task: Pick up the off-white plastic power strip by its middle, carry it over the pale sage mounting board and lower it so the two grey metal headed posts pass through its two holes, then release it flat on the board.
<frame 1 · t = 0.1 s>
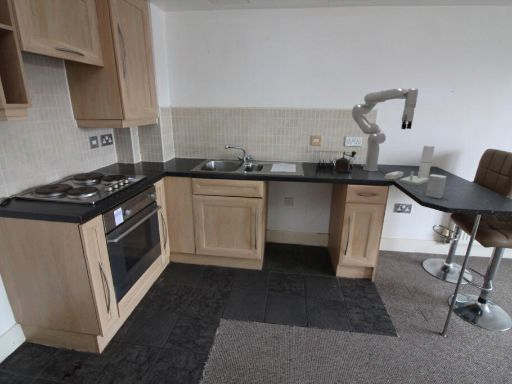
hand: (406, 128, 218), 37 cm above the worktop, tool pointing down, fingers open, 9 cm apart
small box: (433, 196, 174), on the worktop
power strip: (394, 177, 220), on the worktop
tall grey block: (422, 177, 222), on the worktop
mount board: (414, 181, 209), on the worktop
dark piece: (344, 171, 238), on the worktop
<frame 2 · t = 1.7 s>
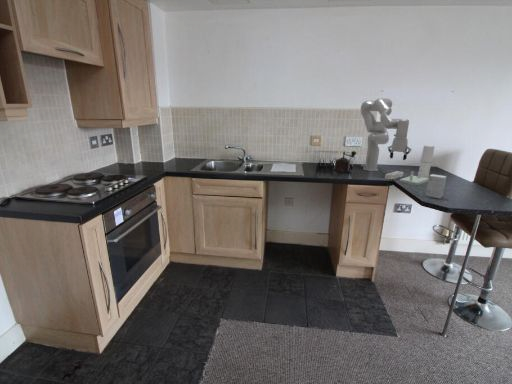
hand: (397, 159, 215), 15 cm above the worktop, tool pointing down, fingers open, 9 cm apart
nothing on the worktop moved.
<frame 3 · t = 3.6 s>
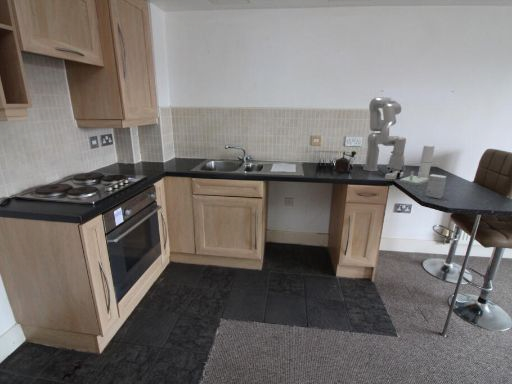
hand: (394, 176, 220), 1 cm above the worktop, tool pointing down, fingers closed on power strip, 5 cm apart
power strip: (394, 177, 220), on the worktop, touching gripper
everything else where it was.
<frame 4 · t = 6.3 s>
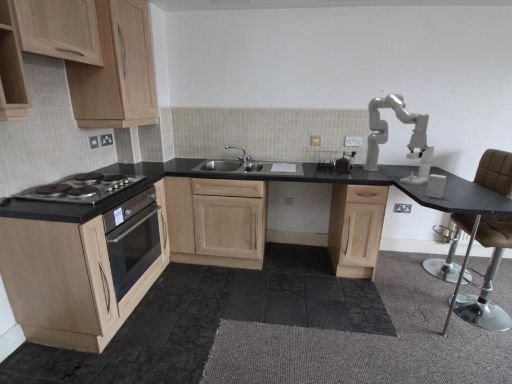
hand: (415, 156, 205), 18 cm above the worktop, tool pointing down, fingers closed on power strip, 5 cm apart
power strip: (415, 157, 205), point 17 cm above the worktop, touching gripper
everything else where it was.
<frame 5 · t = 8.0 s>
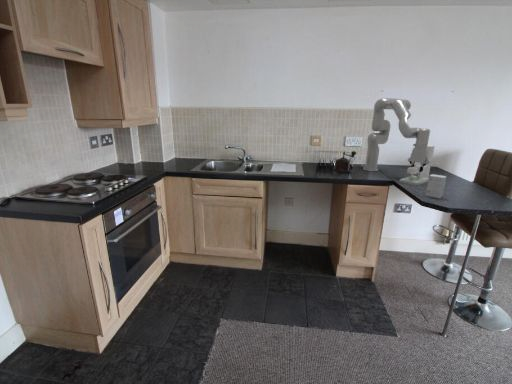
hand: (416, 170, 207), 8 cm above the worktop, tool pointing down, fingers closed on power strip, 5 cm apart
power strip: (416, 171, 207), point 7 cm above the worktop, touching gripper
everything else where it was.
when the fingers open (4 cm above the worktop, at t = 9.2 s): power strip stays where it is, resting on mount board.
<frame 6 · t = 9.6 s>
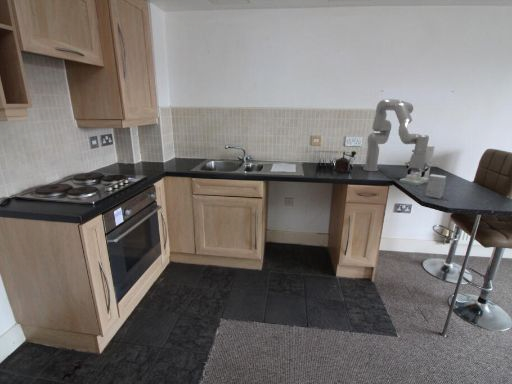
hand: (415, 175, 208), 4 cm above the worktop, tool pointing down, fingers open, 8 cm apart
power strip: (414, 178, 208), point 2 cm above the worktop, touching mount board
everything else where it was.
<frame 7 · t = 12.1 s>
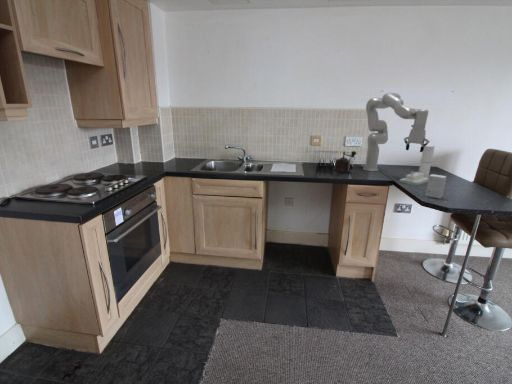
hand: (414, 151, 207), 22 cm above the worktop, tool pointing down, fingers open, 9 cm apart
nothing on the worktop moved.
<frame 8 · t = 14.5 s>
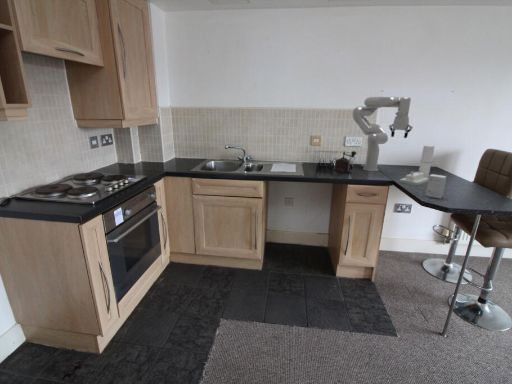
hand: (398, 137, 218), 30 cm above the worktop, tool pointing down, fingers open, 9 cm apart
nothing on the worktop moved.
at the end: power strip 0.2 cm off-centre on the mount board, point 2.0 cm above the mount board's base; power strip tilted 0°; the gripper is holding nothing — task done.
